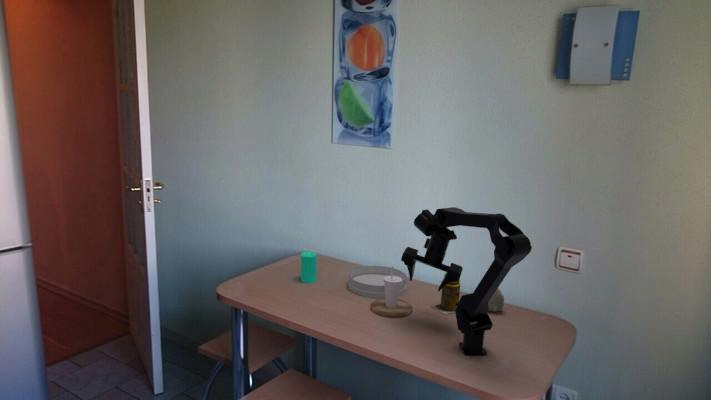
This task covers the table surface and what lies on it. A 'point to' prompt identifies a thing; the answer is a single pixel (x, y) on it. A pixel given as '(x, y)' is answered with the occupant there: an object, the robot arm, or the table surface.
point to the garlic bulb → (496, 301)
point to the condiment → (449, 298)
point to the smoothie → (392, 289)
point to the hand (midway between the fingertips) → (424, 285)
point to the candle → (308, 267)
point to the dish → (373, 281)
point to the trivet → (399, 311)
